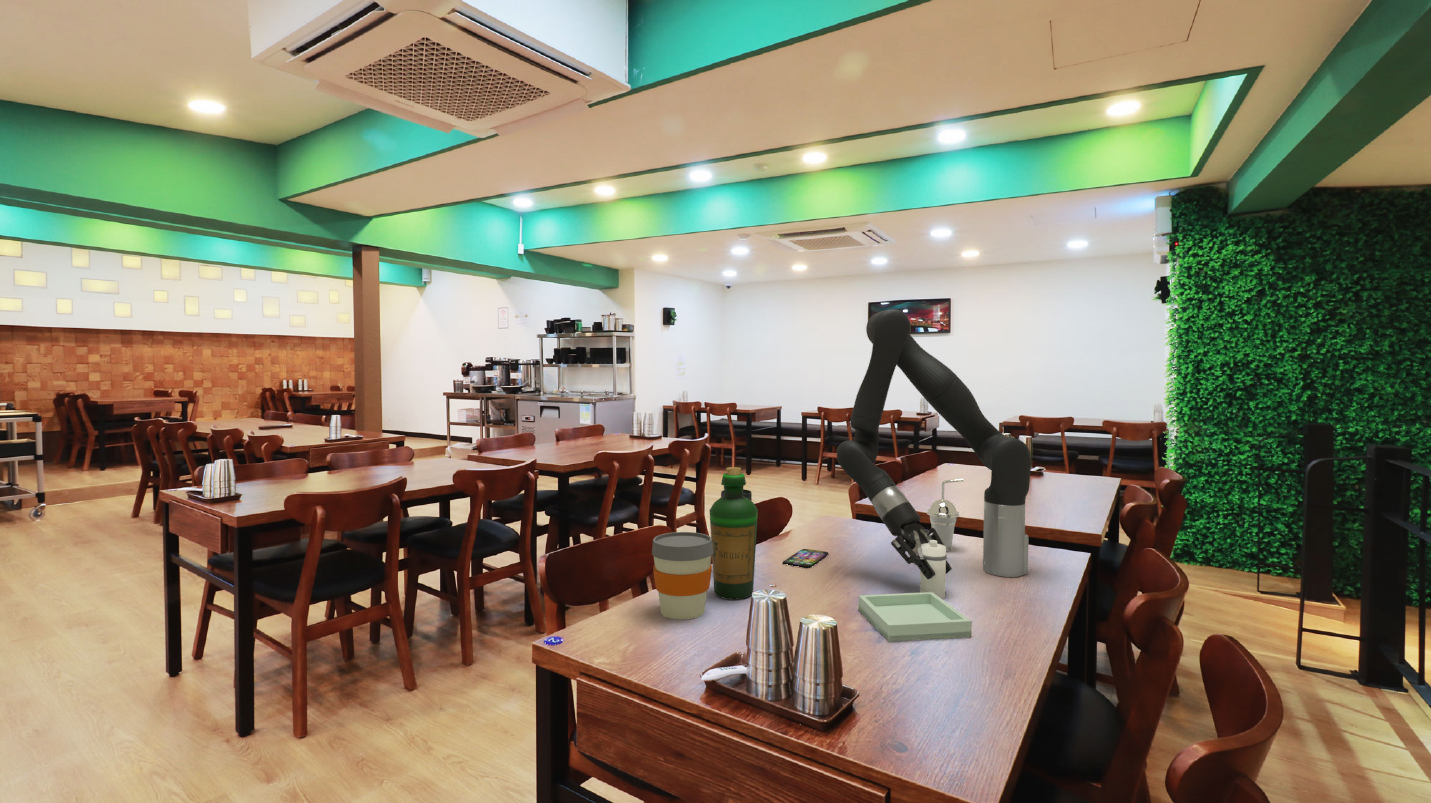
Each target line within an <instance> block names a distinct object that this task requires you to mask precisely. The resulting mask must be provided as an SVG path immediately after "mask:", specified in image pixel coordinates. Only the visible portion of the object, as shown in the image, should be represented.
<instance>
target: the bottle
mask: <svg viewBox="0 0 1431 803" xmlns="http://www.w3.org/2000/svg"><path fill="white" fill-rule="evenodd" d="M725 470H726V472H724V473H723V474H722V478H721V479H722V480H721V482H720V484H721V485H722V486H723V490H724V495H725V496H723V497H721V496H720V497H719V498H718V499H716V501H715V502H713V504H712V505H711V507H710V509H709V524H710V526H709V527H710V537H711V538H712V545H713V554H712V555H711V562H712V576H713V577H712V578H713V592H714V594H716V596H718V597H720V598H722V597H723V599H725V598H726V600H742V599H741V598H743V599H745V597H746V598H747V596H748V597H749V596H752V595H753V593H752V592H754V581H755V565H756V564H755V562H756V551H757V550H756V549H757V546H756V545H757V530H758V515H759V514H758V513H759V512H758V511H759V509H758V507H757V506H756V505H755V503H754V502H753V500H752V501H750V500H749V499H748V498H746V497H744V496H743V489H744V486H746V485H747V481H746V476H745V473H744V472H743V473H742V472H741V470H742V467H738V466H737V467H736V466H729V467H726V468H725ZM751 594H752V595H751Z"/></svg>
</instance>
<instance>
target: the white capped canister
mask: <svg viewBox="0 0 1431 803" xmlns="http://www.w3.org/2000/svg"><path fill="white" fill-rule="evenodd" d="M921 547H922V553H923V556H924V559H923V560H925V559H926V560H927V562H928V563H929V565H930V566H931V568H932V569H933V570H934V572H935V576H933V577H932V578H931V579H927V578H926V577H925V576H924V575H923V573H922V572H921V571H920V578H919V579H920V581H919V582H920V583H919V584H920V586H919V593H924V592H933V593H934V594H936V595H937V596H938V597H940V598H941V599H942V600H944V599H946V578H947V576H946V575H947V574H946V560H947V559H948V557H947V552H946V547H945V546H944V545H941V544H937V541H936V540H930V543H929V542H928V543H925V544H921Z"/></svg>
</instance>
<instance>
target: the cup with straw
mask: <svg viewBox="0 0 1431 803" xmlns="http://www.w3.org/2000/svg"><path fill="white" fill-rule="evenodd" d="M959 482H964V478H959V479H958V478H957V479H948V480H947V479H946V480H944V481H942V483H941V499H938V500H935V501H934V502H933V503H932V504H931V505H930V508H929V509H927V512H926V514H927V515H928V516H929V520H930V524H931V528H934V529H935V530H936V532H937V534H938V535H939V537H940V539H941V541H942V542H943V544H944V546H945V547H946V551H947V552H951V551H952V546H953V541H954V540H953V539H954V532H955V525H956V522H957V518H958V517H960V512H959V511H957V508H956V507H955V506H956V505H955V504H954V503H953V502H951V501H950V500H948V499H945V485H946V484H948V483H959Z"/></svg>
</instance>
